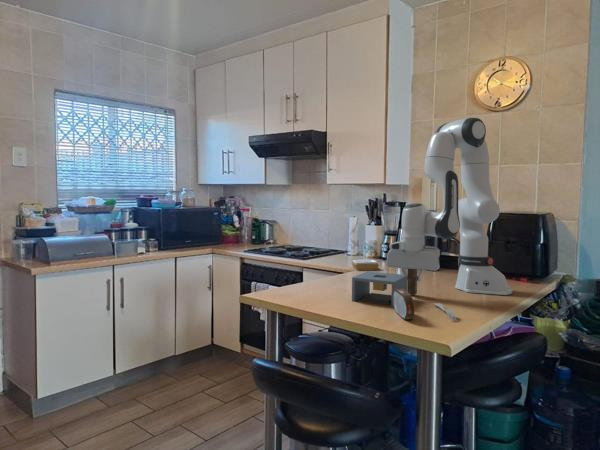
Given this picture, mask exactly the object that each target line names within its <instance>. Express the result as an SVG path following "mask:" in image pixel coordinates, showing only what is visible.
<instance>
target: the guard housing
mask: <svg viewBox="0 0 600 450" xmlns="http://www.w3.org/2000/svg"><path fill="white" fill-rule="evenodd" d="M407 275H408V274H407ZM407 275H404V274H401V273H400V274H398V273H392V272H391V273H388V272H377V271H371V270H366V271H365V272H362V273H360V274H357V275H355V276H352V277H351V279H352V280H351V302H356V301H358V300H361V299H362V301H364V302H370V303H375V304H382V305H383V304H385V305H389V304H390V307H391V308H394V304H393V303H394V300H393V292H394V290H395V289H404V290H405V291H407ZM373 282H374V283H383V284H387V285H391V294H386V293H385V294H384V293H376V292H370V291H371V290H370V288H371V286H370V285H371V284H370V283H373Z"/></svg>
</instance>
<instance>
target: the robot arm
mask: <svg viewBox="0 0 600 450" xmlns="http://www.w3.org/2000/svg"><path fill="white" fill-rule="evenodd" d="M486 134H487V130H486V125H485V123H484V121H483V120H482V119H480V118H479V117H467V118H462V119H457V120H454V121H451V122H447V123H443V124H442V125H440V126H438V128H437V129H436V131H435V133H433V135H431V137H430V140H429V142H428V145H427V149H426V153H425V160H424V166H423V167H424V173H425V175H426V177H427V178H428V179H429V180H430V181H432V182H434V183H436V184H437V185H439V186H440V187H441V190H442V210H441V212H437V211H431V210H429V209H428V208H426V207H425V206H424V204H423V203H410V204H407V205H405V206H404V207H403V209H402V213H401V229H402V233H401V240H397V241H395V242H392V243H390V244H389V245H388V247H389V250H388V252H387V254H386V255H387V256H386V266H387V267H388V268H393V269H394V268H395V269H401V273H402V275H407V280H408V272H406V271H408V269H417V270H418V274H417V276H416V281H417V282H420V281H421V276H422V274H423V273H424V271H434V272H436V271H437V270H439V269H440V256H441V251H440V248H438V247H437V246H433V245H432V246H431V245H426V244H425V239H426V238H425V237H426V236H428V237H436V238H441V239H444V240H450V239H452V238H453V239H454V237H455V236H457V234H458V233H459V239H460V240H459V254H458V259H457V261H458V263H457V266H458V273H457V277H456V282H455V285H454V288H455V289H457V290H461V291H463V292H466V293H473V294H486V295H500V296H502V295H503V296H508V295H509V296H510V295H511V294H513V288H512V287H509V286H508V282H507V279H506V276H505V275H504V274H503V273H502V272H501V271H499V270H498V269H497V268H495V267H494V266H493V264H494V259H493V258H492V257H490V256H489V237H488V235H487V233H486V231H485V227H484V225H486V224H490V223H492V222H494V221H496V220H497V219H498V218H499V216H500V212H501V211H500V209H501V208H500V206H499V203H498V202H497V201H496V200H495V197H494V195H493V191H492V187H491V181H490V156H489V147H488V144H487V143H488V142H487V141H486V140H485V138H486V136H487V135H486ZM456 149H459V150H460V152H461V153H460V154H461V155H460V183H461V186H462V187H463V188H464V192H465V196H466V197H463V198H460V199H459V191H460V190H459V178H458V177H459V176H458V175H457V173H456V172H455V169H454V165H455V163H454V162H455V152H456Z"/></svg>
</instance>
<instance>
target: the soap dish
mask: <svg viewBox="0 0 600 450" xmlns="http://www.w3.org/2000/svg"><path fill="white" fill-rule="evenodd" d="M351 265H352V267H353V269H354V270H356V271H377V270H378V268H379V267H380V264H379V263H378V261H377V260H374V259H353V260H352V261H351Z"/></svg>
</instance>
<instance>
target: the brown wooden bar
mask: <svg viewBox="0 0 600 450" xmlns="http://www.w3.org/2000/svg"><path fill="white" fill-rule="evenodd" d="M407 275H408V280H407V292H408V293H409V294H410V295H411V296H412V295H413V296H415V295H417V293H418V281H416V276H418V269H407Z"/></svg>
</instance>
